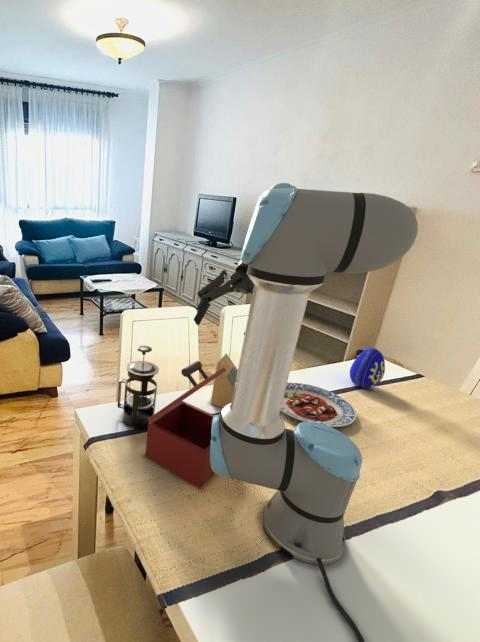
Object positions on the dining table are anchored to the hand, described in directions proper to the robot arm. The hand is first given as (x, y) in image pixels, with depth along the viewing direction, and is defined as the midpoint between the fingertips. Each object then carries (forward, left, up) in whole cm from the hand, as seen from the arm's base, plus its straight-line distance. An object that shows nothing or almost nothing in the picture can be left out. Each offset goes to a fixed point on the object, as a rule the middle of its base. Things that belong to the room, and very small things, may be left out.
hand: (220, 329), depth 95 cm
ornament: (+20, -70, -32) cm, 79 cm away
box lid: (-7, +9, -15) cm, 19 cm away
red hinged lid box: (-8, +8, -31) cm, 33 cm away
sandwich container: (+13, -17, -32) cm, 38 cm away
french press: (+10, +17, -32) cm, 37 cm away
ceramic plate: (+9, -40, -32) cm, 52 cm away
